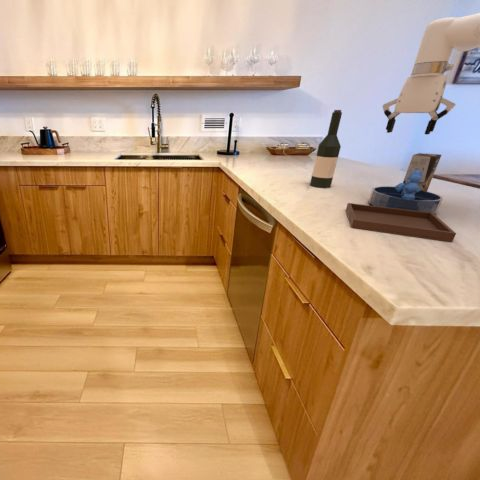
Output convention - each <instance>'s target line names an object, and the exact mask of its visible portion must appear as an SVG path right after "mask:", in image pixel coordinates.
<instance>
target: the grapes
mask: <svg viewBox="0 0 480 480" xmlns="http://www.w3.org/2000/svg"><path fill="white" fill-rule="evenodd" d="M421 176H423V174H422V172H421V171H420V170H415V171H413V172H411V173H410V176H409V179H408V180H407V181H406V182H405V184H404V183H403V182H400V183H398V184H396V185H395V186H394V187H395V189H396V191H397V192H402V194H401V196H402V198H404V199H411V200H414V199H415V197H414V196H415V195H414V194H416V193H417V192H419V191H420V188H419V186H418V183H419V181H420V180H422V178H421Z"/></svg>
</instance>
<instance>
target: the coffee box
mask: <svg viewBox="0 0 480 480" xmlns="http://www.w3.org/2000/svg"><path fill="white" fill-rule="evenodd" d="M441 157H442V154H437V153H422V152H418V153H415V154H413V155H412V156H411V160H410V162H409V165H408V168H407V171H406V173H405V175H404V179H403V181H402V183H404V184H405V182H406V181H407V180H408V179H409V176H410V173H411V172H413V171H415V170H420V171H421V172H422V174H423V176H421V178H422V180H420V181H419V183H418V186H419V188H420V190H423V191H427V192H428V190H429V187H430V186H431V183H432V180H433V177H434V175H435V172H436V170H437V168H438V165H439V162H440V159H441Z"/></svg>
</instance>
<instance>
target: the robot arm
mask: <svg viewBox="0 0 480 480" xmlns="http://www.w3.org/2000/svg"><path fill="white" fill-rule="evenodd" d="M478 48H480V12H478V13H473V14H468V15H465V16H459V17H457V16H449V17H441V18H437V19H435V20H433V21H431V22H429V23H428V24H427V25H426V26H425V29H424V32H423V35H422V38H421V41H420V45H419V48H418V51H417V54H416V58H415V61H414V63H413V67H412V70H411V73H410V76H408V77H407V78H406V79H405V82H404V83H403V85H402V88H401V90H400V92H399V94H398V97H397V98H395V99H392V100H391V101H389V102H386V103H383V104H382V109H383V114H384V115H385V116H386V118H387V124H386V126H385V130H386V134H389V133H392V132H393V130H394V127H395V125H396V118H397V117H398V116H399V115H400V114H429V116H430V120H428V122H427V125H426V128H425V131H424V135H430V133H432V132H434V130H435V128H436V124H437V122H438V120H440V119H441V118H443V117H444V116H446V115H448V114H449V112H451V111H452V109H454V107H455V106H456V105H457V104H456V103H455V102H453V101H451V100H450V99H447V98H446V97H444V93H445V90H446V86H447V80H448V75H447V74H446V72H448V71H453V69H454V67H455V65H454V64H452V63H451V64H450V63H449V62H450V59H451V56H452V53H453V50H455V51H458V52H468V51H472V50H475V49H478ZM441 104H442V105H444V106H446V107H445V108H444V109H443V110H442V111H440V112H438V111H439V109H440V106H441ZM393 106H394V111H393V112H392V111H391V110H390V107H393Z"/></svg>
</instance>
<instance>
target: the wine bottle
mask: <svg viewBox="0 0 480 480" xmlns="http://www.w3.org/2000/svg"><path fill="white" fill-rule="evenodd" d="M342 115H343V112H342V109H334V110H333V111H332V113H331V117H330V121H329V126H328V131H327V135H326V136H325V137H324V138H323V139H322V140H321V141H320V143H319V144H318V146H317V150H316V155H315V160H314V165H313V169H312V174H311V178H310V181H309V185H310V186H309V187H314V188H319V189H328V188H331V187H332V183H333V179H334V175H335V171H336V168H337V163H338V159H339V155H340V151H341V149H342V146H341V142H340V140H339V138H338V132H339V127H340V124H341V120H342Z"/></svg>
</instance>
